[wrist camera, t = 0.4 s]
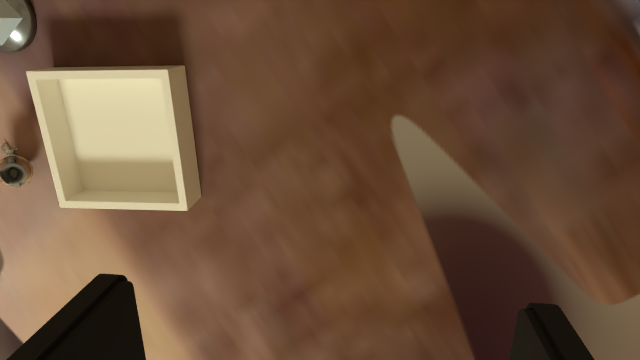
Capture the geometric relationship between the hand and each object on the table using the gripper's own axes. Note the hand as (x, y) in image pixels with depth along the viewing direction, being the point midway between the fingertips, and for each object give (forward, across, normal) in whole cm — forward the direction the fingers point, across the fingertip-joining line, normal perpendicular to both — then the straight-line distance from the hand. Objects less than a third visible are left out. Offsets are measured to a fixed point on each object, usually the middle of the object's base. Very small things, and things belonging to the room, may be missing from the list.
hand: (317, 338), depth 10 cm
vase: (+36, +38, +8) cm, 53 cm away
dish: (+36, +25, +5) cm, 44 cm away
